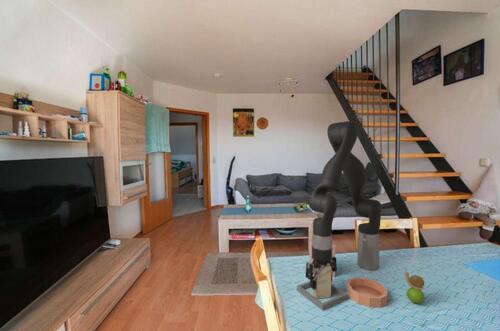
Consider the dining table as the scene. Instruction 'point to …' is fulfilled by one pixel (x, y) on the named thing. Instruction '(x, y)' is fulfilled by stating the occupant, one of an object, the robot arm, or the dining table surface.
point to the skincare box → (323, 283)
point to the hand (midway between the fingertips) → (321, 285)
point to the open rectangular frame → (318, 303)
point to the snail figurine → (415, 288)
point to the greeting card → (312, 257)
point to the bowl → (367, 292)
